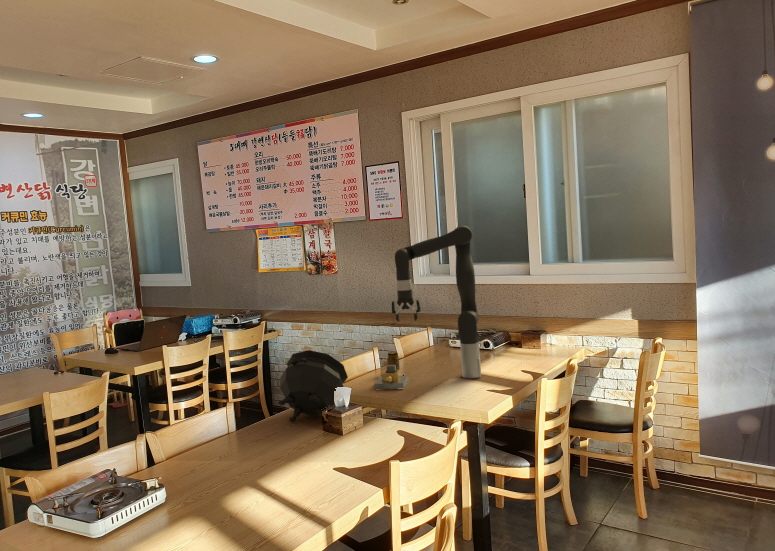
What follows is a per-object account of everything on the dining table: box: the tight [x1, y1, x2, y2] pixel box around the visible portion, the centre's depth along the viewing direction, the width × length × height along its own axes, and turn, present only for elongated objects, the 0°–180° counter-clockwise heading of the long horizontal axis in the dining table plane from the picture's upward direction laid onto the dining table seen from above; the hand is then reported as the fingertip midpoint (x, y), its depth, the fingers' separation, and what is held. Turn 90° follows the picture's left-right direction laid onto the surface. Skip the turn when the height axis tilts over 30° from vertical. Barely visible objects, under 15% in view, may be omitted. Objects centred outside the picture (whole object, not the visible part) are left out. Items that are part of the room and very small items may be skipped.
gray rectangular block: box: [386, 364, 396, 373], centre depth 286 cm, size 4×3×10 cm
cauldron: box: [277, 349, 349, 423], centre depth 245 cm, size 28×28×24 cm
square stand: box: [374, 369, 409, 390], centre depth 286 cm, size 14×14×7 cm
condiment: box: [387, 351, 406, 375], centre depth 305 cm, size 7×8×12 cm
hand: (407, 321), depth 292 cm, fingers open, 8 cm apart
